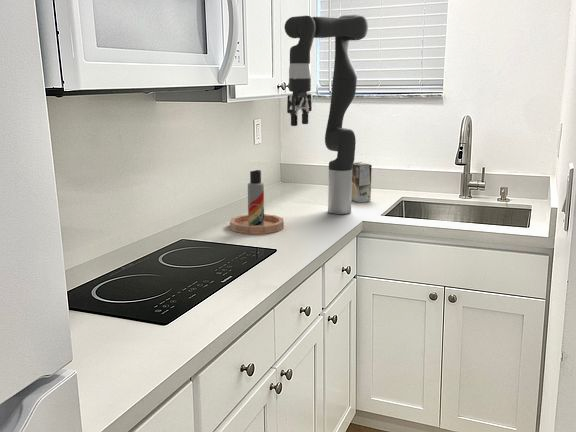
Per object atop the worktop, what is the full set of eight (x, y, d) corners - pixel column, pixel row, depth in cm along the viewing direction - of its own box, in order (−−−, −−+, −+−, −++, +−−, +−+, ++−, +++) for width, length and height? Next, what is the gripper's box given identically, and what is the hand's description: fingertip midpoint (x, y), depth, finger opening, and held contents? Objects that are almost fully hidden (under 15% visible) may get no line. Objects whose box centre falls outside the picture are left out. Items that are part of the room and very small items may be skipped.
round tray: (248, 218, 219) (248, 212, 218) (292, 224, 210) (292, 217, 210) (219, 230, 202) (219, 222, 202) (266, 236, 194) (266, 229, 193)
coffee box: (371, 201, 249) (372, 164, 245) (358, 202, 246) (359, 165, 243) (360, 197, 257) (361, 161, 253) (347, 198, 254) (348, 162, 251)
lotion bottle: (256, 228, 202) (256, 171, 197) (245, 225, 206) (244, 170, 201) (267, 224, 206) (267, 169, 202) (255, 222, 210) (254, 168, 205)
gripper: (299, 77, 205) (299, 123, 209) (280, 77, 193) (280, 126, 197) (318, 77, 202) (317, 124, 206) (300, 77, 189) (300, 127, 193)
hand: (299, 125), depth 201 cm, fingers open, 8 cm apart
